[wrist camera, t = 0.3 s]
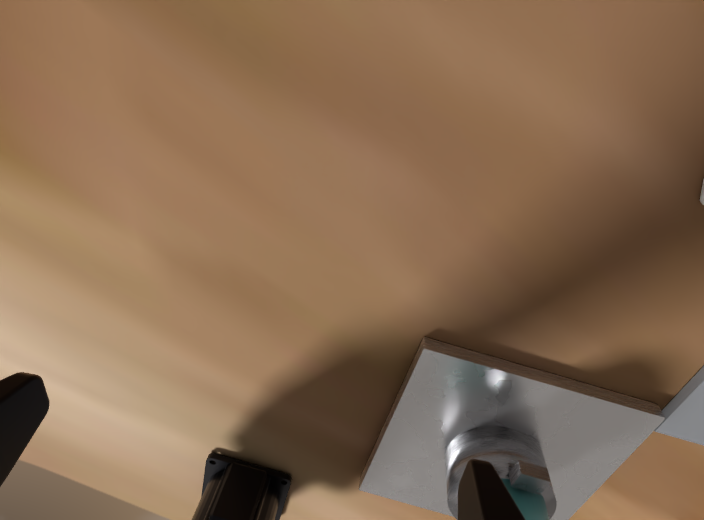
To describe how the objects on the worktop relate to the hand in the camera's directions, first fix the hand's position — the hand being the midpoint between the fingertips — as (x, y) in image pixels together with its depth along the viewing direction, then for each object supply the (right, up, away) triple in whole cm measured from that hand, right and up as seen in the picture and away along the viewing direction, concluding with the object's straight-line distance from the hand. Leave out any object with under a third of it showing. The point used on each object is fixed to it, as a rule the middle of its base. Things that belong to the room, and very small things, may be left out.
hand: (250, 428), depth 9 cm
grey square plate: (+11, -9, +20) cm, 24 cm away
